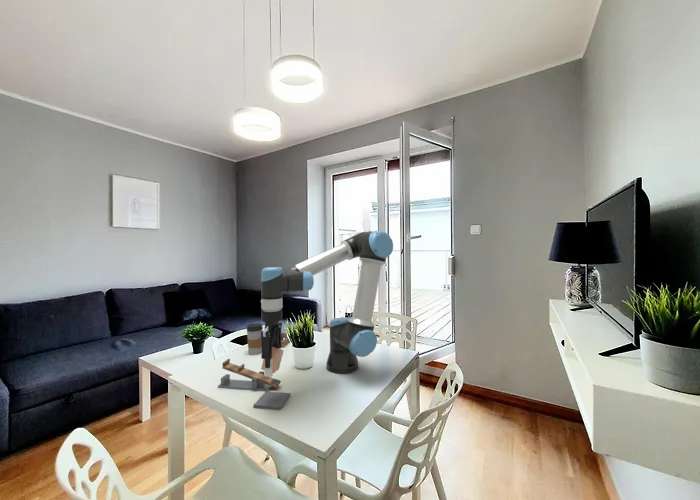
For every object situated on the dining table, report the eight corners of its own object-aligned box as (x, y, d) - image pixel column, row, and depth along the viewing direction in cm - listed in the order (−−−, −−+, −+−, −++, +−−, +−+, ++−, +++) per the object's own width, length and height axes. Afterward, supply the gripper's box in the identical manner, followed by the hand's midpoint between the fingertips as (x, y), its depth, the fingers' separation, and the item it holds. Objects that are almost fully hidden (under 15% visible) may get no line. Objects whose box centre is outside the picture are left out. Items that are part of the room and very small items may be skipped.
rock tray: (293, 338, 182) (293, 333, 182) (283, 347, 166) (283, 341, 166) (274, 337, 184) (274, 332, 184) (262, 346, 168) (262, 340, 168)
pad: (290, 395, 112) (290, 393, 112) (280, 410, 102) (280, 407, 102) (265, 393, 114) (265, 391, 114) (253, 407, 104) (253, 405, 104)
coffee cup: (258, 356, 153) (257, 327, 153) (243, 355, 155) (243, 326, 155) (265, 350, 161) (265, 323, 161) (251, 349, 163) (251, 322, 163)
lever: (280, 382, 121) (282, 376, 121) (275, 388, 116) (277, 382, 116) (227, 363, 124) (229, 358, 124) (220, 369, 119) (222, 362, 119)
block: (279, 368, 110) (283, 350, 110) (273, 373, 105) (278, 355, 105) (266, 363, 111) (271, 346, 111) (260, 369, 106) (265, 350, 106)
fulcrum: (275, 383, 122) (275, 372, 122) (268, 392, 115) (268, 379, 115) (226, 380, 126) (226, 369, 125) (217, 388, 119) (216, 376, 119)
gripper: (272, 304, 117) (272, 362, 117) (250, 314, 99) (250, 383, 100) (290, 305, 116) (290, 363, 116) (271, 315, 98) (271, 384, 98)
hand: (272, 372), depth 108 cm, fingers closed on block, 5 cm apart
